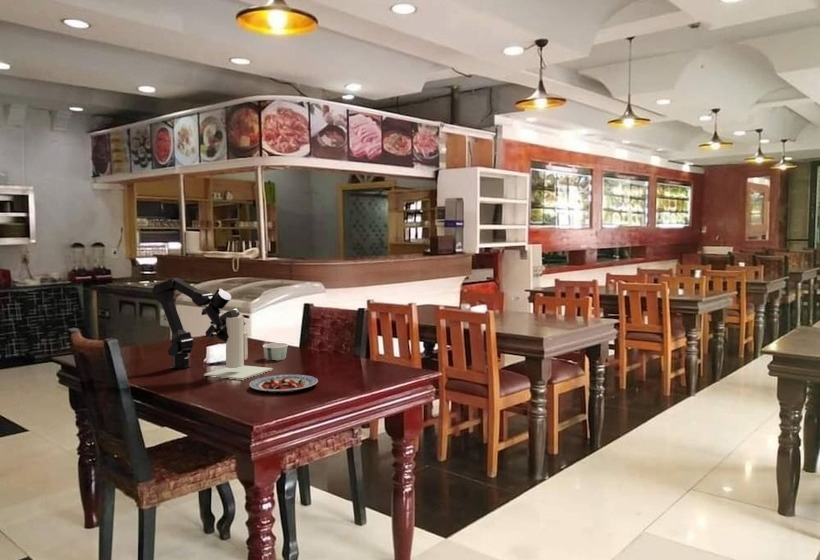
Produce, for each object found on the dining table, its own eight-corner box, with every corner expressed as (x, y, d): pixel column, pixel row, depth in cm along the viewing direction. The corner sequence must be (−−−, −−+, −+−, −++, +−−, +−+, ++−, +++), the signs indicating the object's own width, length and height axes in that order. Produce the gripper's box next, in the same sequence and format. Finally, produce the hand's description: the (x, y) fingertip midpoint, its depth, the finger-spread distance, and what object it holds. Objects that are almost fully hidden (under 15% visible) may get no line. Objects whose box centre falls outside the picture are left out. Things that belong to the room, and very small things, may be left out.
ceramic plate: (250, 398, 222) (250, 390, 222) (248, 382, 246) (248, 375, 246) (322, 392, 229) (322, 384, 229) (313, 377, 254) (313, 370, 253)
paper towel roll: (225, 368, 256) (225, 317, 255) (226, 366, 262) (226, 315, 261) (243, 368, 258) (243, 317, 256) (244, 365, 263) (243, 315, 262)
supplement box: (227, 360, 289) (226, 333, 288) (231, 358, 294) (230, 331, 293) (245, 360, 289) (244, 333, 288) (248, 358, 293) (247, 331, 292)
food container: (283, 361, 286) (282, 347, 286) (258, 361, 288) (258, 347, 288) (292, 356, 298) (291, 343, 298) (268, 356, 300) (268, 342, 299)
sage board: (204, 376, 257) (203, 373, 257) (236, 366, 275) (236, 364, 275) (242, 380, 249) (242, 378, 249) (272, 370, 267) (272, 368, 267)
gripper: (209, 305, 251) (231, 334, 247) (241, 301, 268) (262, 328, 263) (196, 323, 255) (216, 352, 251) (228, 317, 272) (248, 344, 268)
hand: (236, 343), depth 258 cm, fingers closed on paper towel roll, 3 cm apart
